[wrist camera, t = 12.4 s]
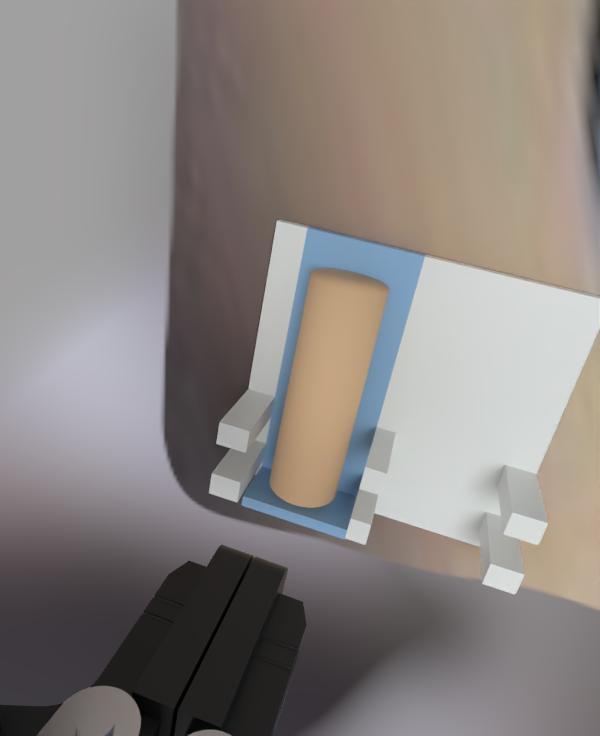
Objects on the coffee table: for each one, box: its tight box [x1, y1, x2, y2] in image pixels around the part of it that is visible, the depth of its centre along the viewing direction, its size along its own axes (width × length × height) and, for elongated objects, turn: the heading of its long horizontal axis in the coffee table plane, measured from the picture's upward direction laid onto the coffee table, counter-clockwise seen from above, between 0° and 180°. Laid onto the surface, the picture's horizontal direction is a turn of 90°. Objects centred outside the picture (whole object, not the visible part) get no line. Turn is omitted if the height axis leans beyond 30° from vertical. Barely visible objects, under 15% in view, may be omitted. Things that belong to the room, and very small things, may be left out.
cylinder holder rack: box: [209, 219, 600, 594], centre depth 26 cm, size 14×15×5 cm
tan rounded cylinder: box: [269, 268, 389, 508], centre depth 27 cm, size 11×4×4 cm, turn 169°
